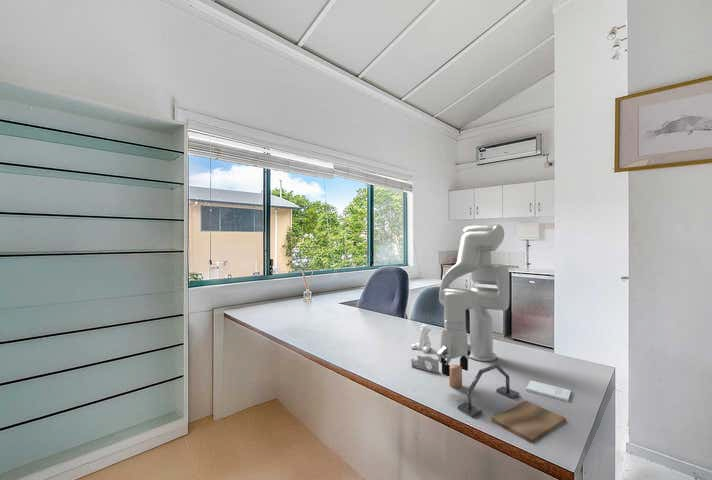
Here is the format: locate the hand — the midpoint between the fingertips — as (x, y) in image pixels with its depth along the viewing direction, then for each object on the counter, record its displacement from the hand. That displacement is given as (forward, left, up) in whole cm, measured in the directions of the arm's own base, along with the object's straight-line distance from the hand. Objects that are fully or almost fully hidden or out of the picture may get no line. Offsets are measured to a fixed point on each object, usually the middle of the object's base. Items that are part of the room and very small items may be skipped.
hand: (455, 372), depth 115 cm
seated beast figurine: (-35, +18, -6) cm, 40 cm away
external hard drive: (+21, +24, -6) cm, 32 cm away
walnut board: (+27, +1, -5) cm, 27 cm away
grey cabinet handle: (+14, +1, -5) cm, 15 cm away
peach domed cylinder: (0, +1, -5) cm, 5 cm away
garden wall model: (-17, +2, -6) cm, 18 cm away
